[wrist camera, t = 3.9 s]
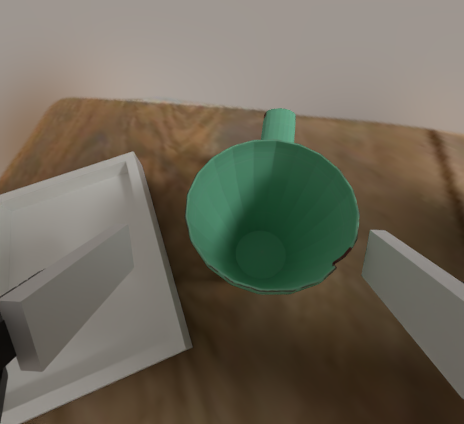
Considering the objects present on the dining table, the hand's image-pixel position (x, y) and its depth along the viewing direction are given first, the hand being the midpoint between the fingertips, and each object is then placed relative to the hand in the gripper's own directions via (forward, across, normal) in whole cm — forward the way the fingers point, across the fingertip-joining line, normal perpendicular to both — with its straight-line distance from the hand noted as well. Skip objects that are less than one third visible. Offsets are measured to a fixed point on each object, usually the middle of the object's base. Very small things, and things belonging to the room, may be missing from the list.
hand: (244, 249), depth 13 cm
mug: (+10, +2, -3) cm, 11 cm away
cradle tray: (+7, -15, -6) cm, 18 cm away
